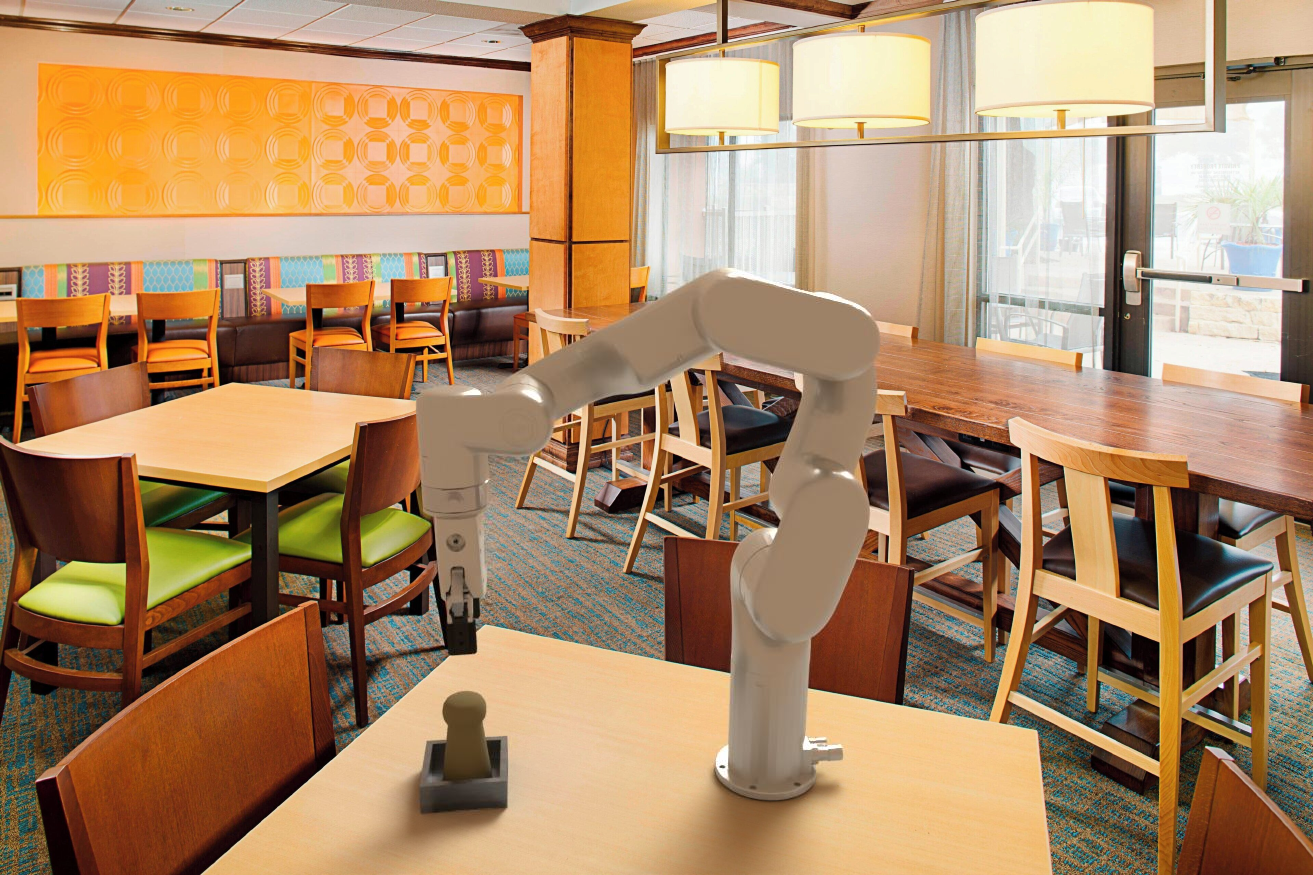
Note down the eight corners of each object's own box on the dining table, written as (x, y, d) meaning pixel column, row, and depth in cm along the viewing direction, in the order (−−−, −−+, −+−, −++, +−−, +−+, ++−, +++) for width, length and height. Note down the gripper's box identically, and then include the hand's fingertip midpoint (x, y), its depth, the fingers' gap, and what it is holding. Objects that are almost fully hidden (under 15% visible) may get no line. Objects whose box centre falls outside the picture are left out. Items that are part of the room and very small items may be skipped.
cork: (496, 764, 123) (493, 684, 120) (487, 793, 117) (484, 709, 114) (448, 764, 123) (444, 683, 120) (436, 792, 117) (432, 708, 114)
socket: (507, 760, 126) (507, 735, 125) (507, 807, 116) (506, 780, 115) (427, 765, 124) (426, 740, 123) (420, 813, 115) (419, 786, 114)
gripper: (487, 517, 104) (496, 666, 108) (491, 473, 120) (498, 603, 124) (414, 521, 103) (426, 671, 107) (428, 476, 119) (438, 607, 123)
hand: (465, 635), depth 115 cm, fingers open, 9 cm apart
